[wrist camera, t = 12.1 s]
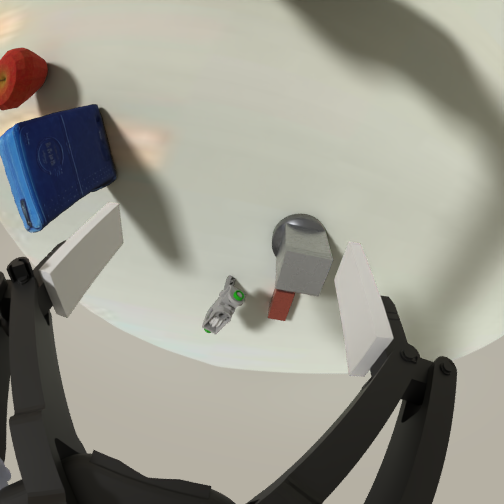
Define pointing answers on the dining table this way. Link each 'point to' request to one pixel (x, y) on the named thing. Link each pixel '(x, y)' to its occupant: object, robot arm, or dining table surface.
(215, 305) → the mechanical component
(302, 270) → the gray rectangular block
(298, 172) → the dining table surface
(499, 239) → the dining table surface
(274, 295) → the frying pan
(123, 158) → the dining table surface
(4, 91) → the apple
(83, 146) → the blue box
